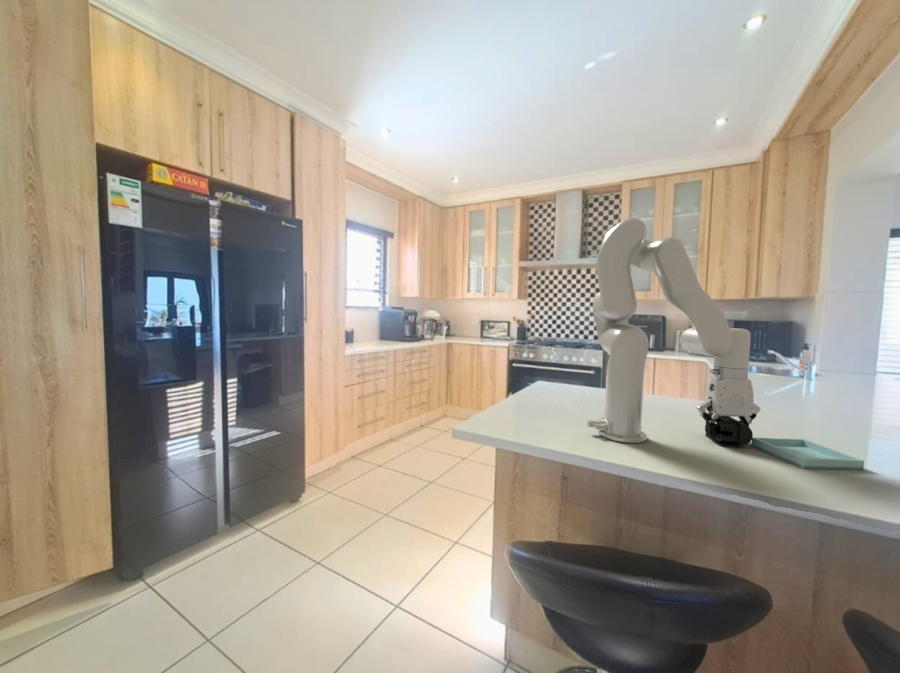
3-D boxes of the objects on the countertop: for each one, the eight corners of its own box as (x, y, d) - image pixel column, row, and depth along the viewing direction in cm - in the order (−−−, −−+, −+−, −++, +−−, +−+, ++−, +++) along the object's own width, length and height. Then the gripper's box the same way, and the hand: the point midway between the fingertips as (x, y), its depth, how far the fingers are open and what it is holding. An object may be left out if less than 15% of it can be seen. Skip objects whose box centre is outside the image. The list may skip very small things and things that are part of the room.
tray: (803, 468, 84) (804, 459, 83) (751, 445, 98) (752, 437, 98) (863, 470, 84) (864, 460, 83) (802, 446, 98) (802, 438, 98)
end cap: (752, 450, 95) (754, 424, 95) (721, 447, 97) (723, 422, 96) (731, 437, 105) (733, 414, 104) (703, 435, 106) (705, 412, 106)
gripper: (708, 375, 96) (704, 440, 97) (774, 376, 96) (770, 441, 97) (689, 371, 103) (686, 431, 105) (751, 371, 103) (747, 432, 104)
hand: (726, 436), depth 101 cm, fingers closed on end cap, 8 cm apart
